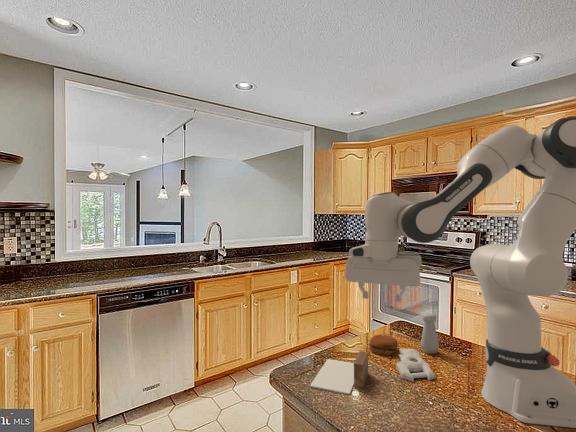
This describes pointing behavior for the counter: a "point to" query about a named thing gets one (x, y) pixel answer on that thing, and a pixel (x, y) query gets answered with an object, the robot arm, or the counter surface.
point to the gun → (413, 365)
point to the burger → (383, 344)
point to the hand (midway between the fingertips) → (381, 299)
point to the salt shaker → (429, 334)
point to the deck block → (360, 369)
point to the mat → (335, 377)
